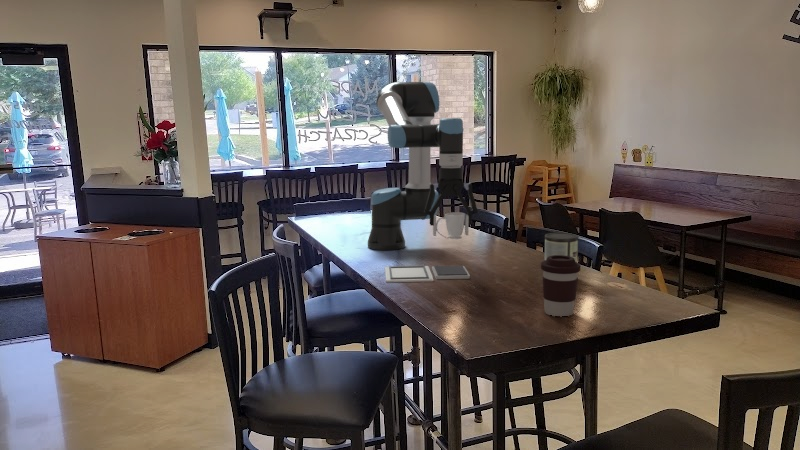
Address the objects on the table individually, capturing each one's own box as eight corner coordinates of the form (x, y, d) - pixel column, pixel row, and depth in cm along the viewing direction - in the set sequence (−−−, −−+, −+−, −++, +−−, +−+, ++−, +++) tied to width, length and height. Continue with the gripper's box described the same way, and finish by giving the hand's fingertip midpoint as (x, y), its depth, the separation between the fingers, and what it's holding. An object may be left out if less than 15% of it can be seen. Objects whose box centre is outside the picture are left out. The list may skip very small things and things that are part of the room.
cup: (468, 239, 195) (468, 214, 193) (438, 241, 193) (438, 216, 192) (462, 235, 202) (462, 211, 200) (433, 237, 200) (433, 213, 198)
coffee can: (545, 273, 199) (546, 231, 196) (577, 275, 195) (579, 233, 193) (541, 281, 189) (543, 237, 187) (575, 284, 186) (577, 239, 183)
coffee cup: (534, 308, 163) (536, 254, 160) (570, 306, 163) (572, 252, 161) (546, 320, 153) (548, 262, 150) (584, 318, 154) (586, 261, 151)
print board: (384, 268, 207) (384, 265, 207) (428, 267, 208) (428, 264, 208) (386, 282, 190) (386, 279, 189) (433, 281, 190) (433, 278, 190)
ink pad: (431, 269, 206) (431, 265, 205) (463, 268, 206) (463, 264, 206) (435, 279, 193) (435, 275, 193) (470, 278, 193) (470, 274, 193)
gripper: (417, 168, 189) (417, 237, 193) (487, 167, 190) (486, 236, 194) (415, 166, 196) (415, 233, 200) (483, 165, 198) (482, 232, 201)
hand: (450, 234), depth 197 cm, fingers closed on cup, 10 cm apart
